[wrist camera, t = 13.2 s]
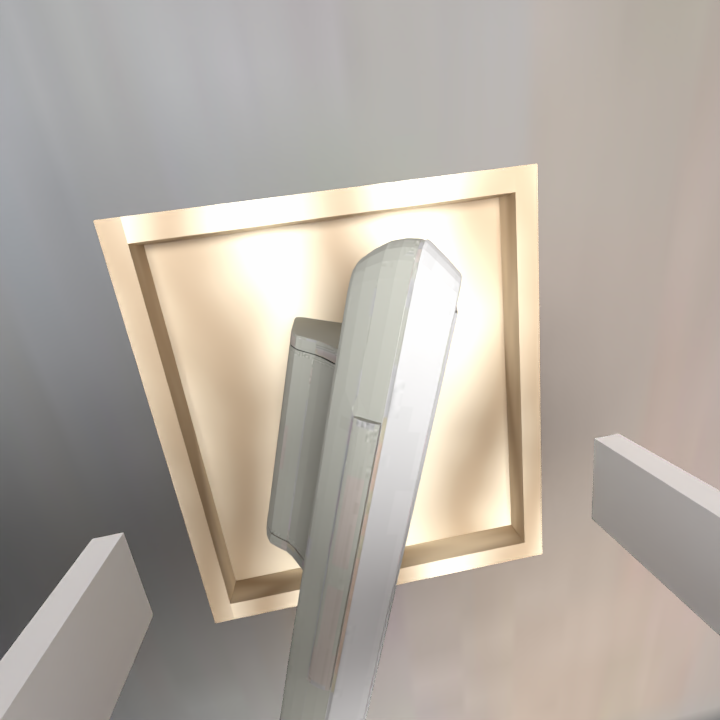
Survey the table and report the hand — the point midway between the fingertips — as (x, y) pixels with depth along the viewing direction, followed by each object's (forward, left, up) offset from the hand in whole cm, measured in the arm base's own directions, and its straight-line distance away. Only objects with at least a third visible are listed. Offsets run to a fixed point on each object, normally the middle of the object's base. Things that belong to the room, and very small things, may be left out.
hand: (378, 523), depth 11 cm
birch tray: (0, 0, -10) cm, 10 cm away
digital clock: (+1, 0, -9) cm, 9 cm away
